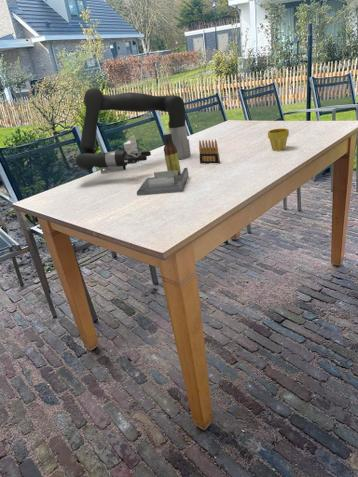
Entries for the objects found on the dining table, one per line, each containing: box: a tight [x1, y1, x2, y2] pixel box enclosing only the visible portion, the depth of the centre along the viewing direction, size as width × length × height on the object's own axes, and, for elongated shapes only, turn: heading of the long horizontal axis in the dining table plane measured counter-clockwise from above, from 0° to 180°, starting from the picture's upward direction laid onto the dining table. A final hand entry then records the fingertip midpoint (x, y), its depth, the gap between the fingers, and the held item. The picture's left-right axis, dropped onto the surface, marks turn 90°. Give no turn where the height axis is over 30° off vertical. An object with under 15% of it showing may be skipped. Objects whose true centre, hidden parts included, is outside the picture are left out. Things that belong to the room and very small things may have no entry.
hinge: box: [99, 166, 127, 174], centre depth 201 cm, size 14×5×10 cm, turn 92°
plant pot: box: [267, 127, 290, 151], centre depth 192 cm, size 10×10×10 cm
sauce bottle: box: [162, 132, 182, 175], centre depth 174 cm, size 7×6×20 cm
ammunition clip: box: [198, 139, 221, 165], centre depth 186 cm, size 11×2×12 cm, turn 59°
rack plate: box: [136, 167, 190, 196], centre depth 164 cm, size 20×20×5 cm
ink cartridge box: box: [123, 134, 139, 165], centre depth 213 cm, size 9×5×15 cm, turn 168°
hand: (148, 155), depth 176 cm, fingers open, 8 cm apart
